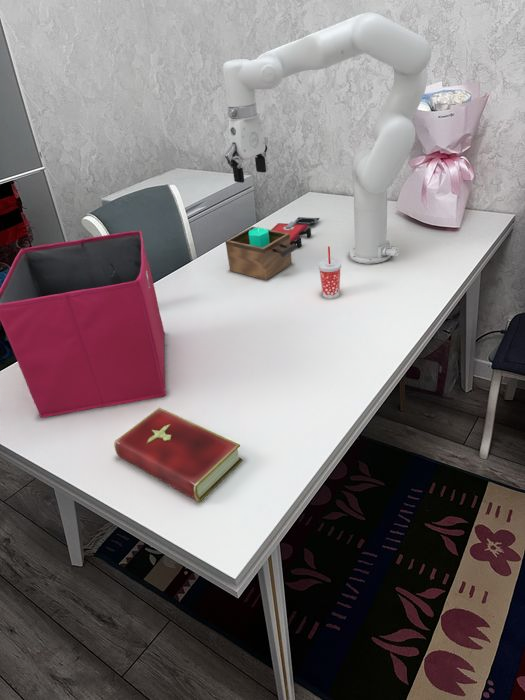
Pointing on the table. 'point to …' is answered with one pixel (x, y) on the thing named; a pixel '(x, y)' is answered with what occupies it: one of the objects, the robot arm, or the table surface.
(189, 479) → the hardcover book
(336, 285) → the beverage cup
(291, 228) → the red board with handle
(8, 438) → the table surface
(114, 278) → the storage bin
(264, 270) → the wooden drawer
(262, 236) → the candle
